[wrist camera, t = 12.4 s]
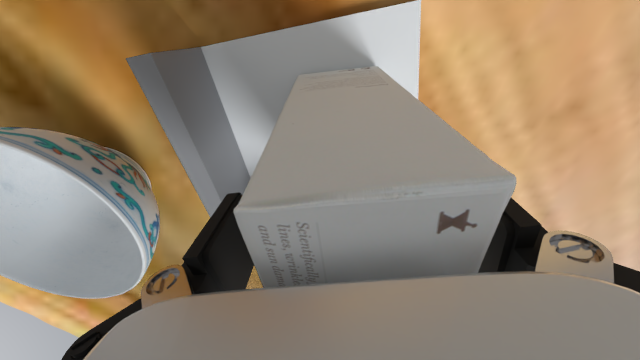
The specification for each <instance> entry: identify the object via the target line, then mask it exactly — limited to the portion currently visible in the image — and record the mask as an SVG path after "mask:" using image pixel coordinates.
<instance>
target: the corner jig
mask: <svg viewBox="0 0 640 360" xmlns="http://www.w3.org/2000/svg"><path fill="white" fill-rule="evenodd" d="M420 16H421V0H417V1H412V2H407V3H403V4H398V5H393V6H389V7H384V8H379V9H375V10H370V11H366V12H361V13H356V14H352V15H347V16H342V17H338V18H333V19H328V20H324V21H319V22H315V23H310V24H305V25H301V26H296V27H291V28H287V29H282V30H277V31H273V32H268V33H264V34H259V35H254V36H250V37H245V38H240V39H236V40H231V41H226V42H222V43H217V44H212V45H208V46H203V47H197V48H188V49H180V50H172V51H163V52H155V53H148V54H144V55H139V56H135V57H130V58H126V60H127V62H128V64H129V66H130V68H131V69H132V71H133V73H134V75H135V77H136V79H137V81H138V83H139V84H140V86H141V88H142V90H143V92H144V94H145V96H146V98H147V100H148V101H149V103H150V105H151V107H152V109H153V111H154V113H155V115H156V116H157V118H158V120H159V122H160V124H161V126H162V128H163V130H164V131H165V133H166V135H167V137H168V139H169V141H170V143H171V145H172V146H173V148H174V150H175V152H176V154H177V156H178V158H179V160H180V162H181V163H182V165H183V167H184V169H185V171H186V173H187V175H188V177H189V178H190V180H191V182H192V184H193V186H194V188H195V190H196V192H197V193H198V195H199V197H200V199H201V201H202V203H203V205H204V207H205V209H206V210H207V212H208V214H209V216H210V218H211V216H212V215H213V213H214V212H215V211H216V209H217V208H218V206H219V205H220V203H221V202H222V200H223V199H224V198H225V196H226V195H227V194H229V193H237V192H240V193H241V194H242V195H243V193H244V191H245V189H246V187H247V185H248V183H249V181H250V179H251V176H252V174H253V172H254V170H255V168H256V165H257V163H258V161H259V159H260V157H261V155H262V153H263V151H264V148H265V146H266V144H267V142H268V140H269V138H270V135H271V133H272V131H273V129H274V126H275V124H276V122H277V120H278V118H279V115H280V114H281V111H282V109H283V107H284V105H285V102H286V100H287V98H288V96H289V94H290V92H291V90H292V88H293V85H294V83H295V81H296V79H297V77H298V75H301V74H310V73H318V72H327V71H335V70H344V69H352V68H362V67H371V66H378V67H379V68H381V69H382V70H383V71H384V72H385V73H386V74H388V75H389V76H390V77H391V78H392V79H394V80H395V81H396V82H397V83H398V84H400V85H401V86H402V87H403V88H404V89H406V90H407V91H408V92H409V93H411V94H412V95H413V96H414V97H415V98H417V99H418V83H419V49H420Z"/></svg>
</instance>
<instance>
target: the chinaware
mask: <svg viewBox="0 0 640 360" xmlns="http://www.w3.org/2000/svg"><path fill="white" fill-rule="evenodd" d="M159 230H160V216H159V209H158V205H157V202H156V199H155V196H154V194H153V192H152V187H151V182H150V180H149V178H148V176H147V174H146V173H145V171H144V170H143V169H142V167H141V166H140V165H139V164H138V163H137V162H135V161H134V160H133V159H132V158H130V157H129V156H127V155H125V154H123V153H121V152H119V151H117V150H114V149H111V148H107V147H103V146H101V145H98V144H96V143H94V142H91V141H89V140H86V139H83V138H80V137H76V136H73V135H69V134H65V133H60V132H56V131H50V130H43V129H34V128H21V127H0V275H1V276H4V277H6V278H8V279H11V280H13V281H15V282H18V283H21V284H23V285H26V286H29V287H32V288H35V289H38V290H42V291H45V292H49V293H53V294H58V295H63V296H69V297H76V298H107V297H113V296H117V295H120V294H123V293H125V292H127V291H129V290H131V289H132V288H134V287H135V286H136V285H137V284H138V283H139V282H140V280H141V279H142V277H143V276H144V274H145V272H146V270H147V268H148V266H149V264H150V262H151V259H152V257H153V254H154V252H155V249H156V245H157V241H158V237H159Z"/></svg>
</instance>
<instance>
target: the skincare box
mask: <svg viewBox="0 0 640 360" xmlns="http://www.w3.org/2000/svg"><path fill="white" fill-rule="evenodd" d="M515 186H516V177H515V175H513V174H512V173H510V172H509V171H507V170H506V169H504V168H503V167H501V166H500V165H498V164H497V163H495V162H494V161H492V160H491V159H490V158H489V157H488V156H487V155H486V154H484V153H483V152H482V151H480V150H479V149H478V148H476V147H475V146H474V145H473V144H471V143H470V142H469V141H468V140H467V139H466V138H465V137H463V136H462V135H461V134H460V133H458V132H457V131H456V130H454V129H453V128H452V127H451V126H450V125H448V124H447V123H446V122H445V121H444V120H442V119H441V118H440V117H439V116H438V115H436V114H435V113H434V112H433V111H431V110H430V109H429V108H428V107H427V106H425V105H424V104H423V103H422V102H420V101H419V100H418V99H417V98H415V97H414V96H413V95H412V94H411V93H409V92H408V91H407V90H406V89H404V88H403V87H402V86H401V85H400V84H398V83H397V82H396V81H395V80H394V79H392V78H391V77H390V76H389V75H388V74H386V73H385V72H384V71H383V70H382V69H381V68H379V67H378V66H371V67H362V68H352V69H344V70H335V71H327V72H318V73H310V74H301V75H298V77H297V79H296V81H295V83H294V85H293V88H292V90H291V92H290V94H289V96H288V98H287V100H286V102H285V105H284V107H283V109H282V111H281V114H280V115H279V118H278V120H277V122H276V124H275V126H274V129H273V131H272V133H271V135H270V138H269V140H268V142H267V144H266V146H265V148H264V151H263V153H262V155H261V157H260V159H259V161H258V163H257V165H256V168H255V170H254V172H253V174H252V176H251V179H250V181H249V183H248V185H247V187H246V189H245V191H244V193H243V195H242V197H241V199H240V201H239V203H238V205H237V206H236V207H235V208H234V211H233V212H234V215H235V218H236V221H237V224H238V227H239V229H240V232H241V234H242V237H243V239H244V241H245V244H246V246H247V249H248V251H249V253H250V256H251V258H252V261H253V263H254V266H255V268H256V270H257V273H258V275H259V278H260V280H261V283H262V285H263V288H268V287H281V286H294V285H307V284H321V283H334V282H348V281H362V280H377V279H391V278H406V277H421V276H436V275H451V274H470V273H478V271H479V269H480V266H481V263H482V261H483V259H484V256H485V254H486V252H487V249H488V247H489V245H490V243H491V240H492V238H493V235H494V233H495V231H496V228H497V226H498V224H499V221H500V219H501V216H502V214H503V212H504V210H505V208H506V206H507V204H508V202H509V200H510V198H511V196H512V194H513V192H514V189H515Z"/></svg>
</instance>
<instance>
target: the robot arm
mask: <svg viewBox="0 0 640 360" xmlns="http://www.w3.org/2000/svg"><path fill="white" fill-rule="evenodd" d="M241 197H242V194H241V193H240V192H237V193H229V194H227V195H226V196H225V198H224V199H223V200H222V202H221V203H220V205H219V206H218V208H217V209H216V211H215V212H214V213H213V215H212V216H211V218H210V219H209V221H208V222H207V223H206V225H205V226H204V228H203V229H202V231H201V232H200V234H199V235H198V236H197V238H196V239H195V241H194V242H193V244H192V245H191V247H190V248H189V249H188V251H187V252H186V254H185V255H184V257H183V258H182V259H183V260H184V263H183V264H182V266H180V265H171V266H167V267H165V268H163V269H161V270H159V271H158V272H156V273H155V274H153V275H152V276H151V277H150V278H149V279H148V280H147V281H146V282H145V284H144V286H143V287H142V290H141V299H139V300H137V301H136V302H134V303H133V304H131V305H129V306H128V307H126V308H125V309H123V310H121V311H120V312H118V313H117V314H115V315H113V316H112V317H110V318H109V319H107V320H105V321H104V322H102V323H101V324H99V325H97V326H96V327H94V328H93V329H91V330H89V331H88V332H87V333H85V334H84V335H82V336H81V337H79V338H78V339H77V340H76V341H75V342H74V343H73V344H72V346H71V347H70V348H69V349H68V350H67V351H66V353H65V355H64V356H63V358H62V360H640V272H639V271H636V270H633V269H630V268H627V267H624V266H621V265H618V264H615V263H613V257H612V254H611V252H610V251H609V250H608V249H607V248H606V247H605V246H604V245H602V244H601V243H599V242H598V241H596V240H594V239H592V238H590V237H588V236H585V235H582V234H579V233H574V232H569V231H552V232H549V233H548V232H547V231H546V230H545V229H544V228H543V227H542V226H541V224H540V223H539V222H538V221H537V220H536V219H534V218H533V217H532V216H531V215H530V214H529V213H528V212H527V211H525V210H524V209H523V208H522V207H521V206H520V205H519V204H518V203H516V202H515V201H514V200H513V199H512V198H510V200H509V202H508V204H507V206H506V208H505V210H504V212H503V214H502V216H501V219H500V221H499V224H498V226H497V228H496V231H495V233H494V235H493V238H492V240H491V243H490V245H489V247H488V249H487V252H486V254H485V256H484V259H483V261H482V263H481V266H480V269H479V271H478V273H470V274H451V275H436V276H421V277H406V278H391V279H377V280H362V281H348V282H334V283H321V284H307V285H294V286H281V287H268V288H255V289H246V286H247V283H248V280H249V278H250V275H251V272H252V269H253V266H254V263H253V261H252V258H251V256H250V253H249V251H248V249H247V246H246V244H245V241H244V239H243V237H242V234H241V232H240V229H239V227H238V224H237V221H236V218H235V215H234V212H233V211H234V208H235V207H236V206H237V205H238V203H239V201H240V199H241Z"/></svg>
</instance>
